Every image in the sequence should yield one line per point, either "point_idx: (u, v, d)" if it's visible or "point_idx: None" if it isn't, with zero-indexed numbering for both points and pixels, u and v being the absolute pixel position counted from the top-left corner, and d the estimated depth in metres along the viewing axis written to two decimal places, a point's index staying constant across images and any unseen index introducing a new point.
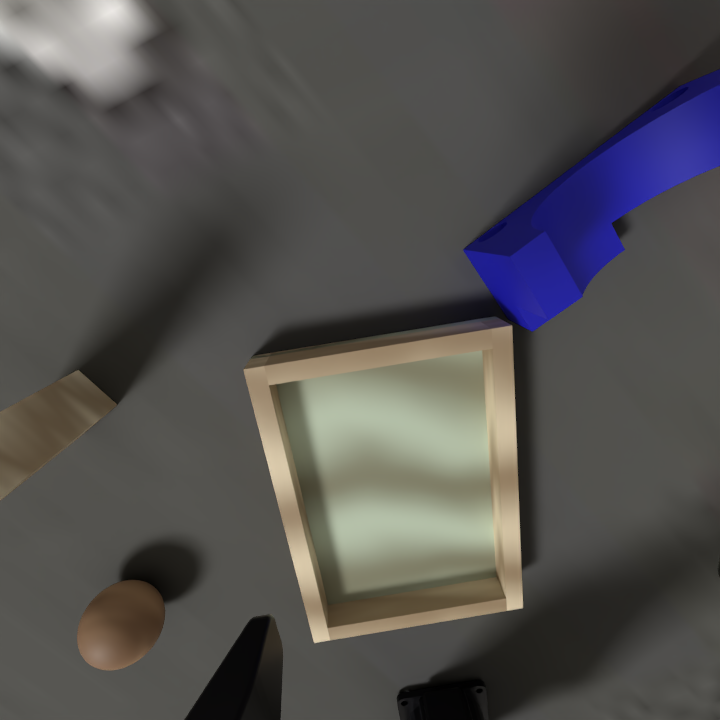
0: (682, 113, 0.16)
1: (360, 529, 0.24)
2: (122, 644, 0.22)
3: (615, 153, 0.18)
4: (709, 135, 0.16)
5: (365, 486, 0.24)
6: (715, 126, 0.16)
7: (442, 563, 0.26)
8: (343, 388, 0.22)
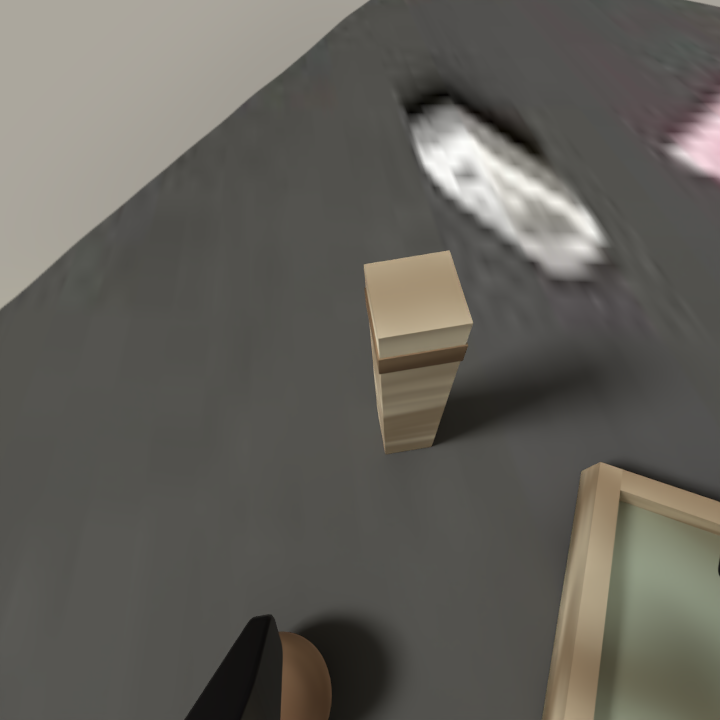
0: None
1: None
2: (295, 712, 0.15)
3: None
4: None
5: (676, 713, 0.16)
6: None
7: None
8: (679, 552, 0.19)
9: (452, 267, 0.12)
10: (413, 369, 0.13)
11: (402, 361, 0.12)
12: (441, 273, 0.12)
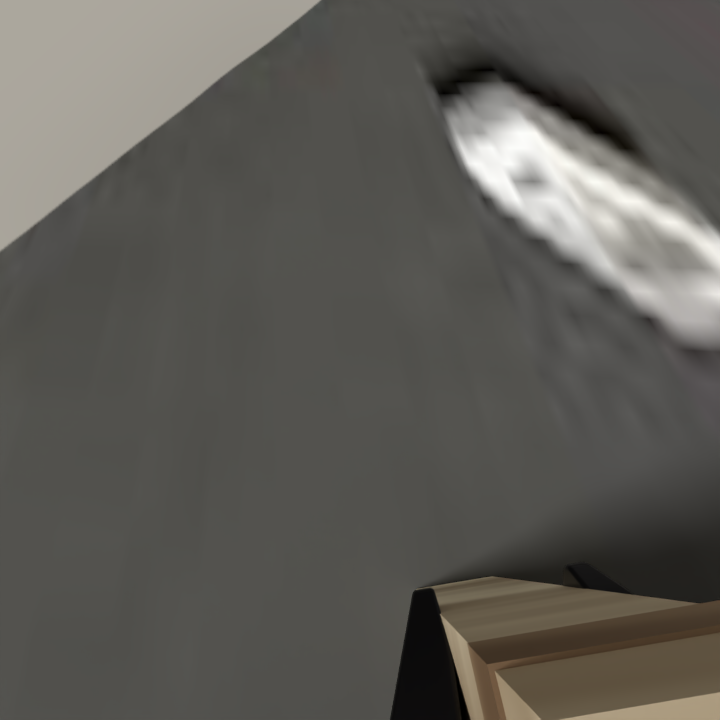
0: None
1: None
2: None
3: None
4: None
5: None
6: None
7: None
8: None
9: None
10: None
11: None
12: None
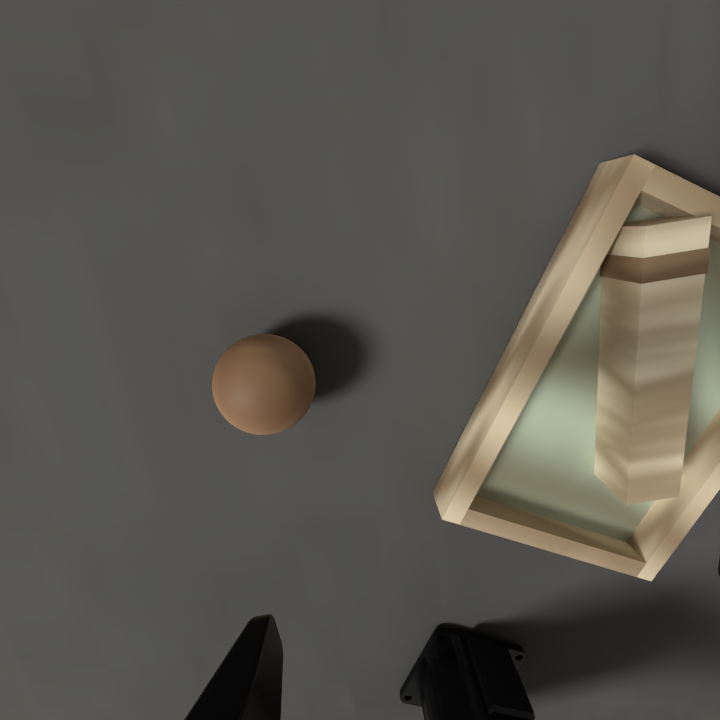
0: None
1: (554, 421, 0.21)
2: (287, 399, 0.16)
3: None
4: None
5: (595, 376, 0.20)
6: None
7: (594, 501, 0.23)
8: None
9: (670, 217, 0.17)
10: (667, 282, 0.16)
11: (659, 267, 0.16)
12: (664, 218, 0.17)
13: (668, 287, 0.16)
